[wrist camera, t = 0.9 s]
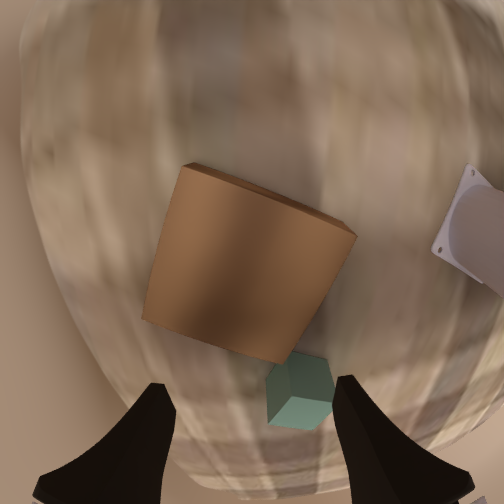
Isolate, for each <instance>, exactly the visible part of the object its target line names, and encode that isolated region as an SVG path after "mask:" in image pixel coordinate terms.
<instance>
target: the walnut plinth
mask: <svg viewBox="0 0 504 504" xmlns="http://www.w3.org/2000/svg"><path fill="white" fill-rule="evenodd" d="M357 237H358V236H357V235H356V234H355V233H354V232H353V231H352V230H351V229H349V228H348V227H347V226H346V225H345V224H344V223H343V222H342V221H340V220H337V219H335V218H333V217H331V216H329V215H326V214H324V213H322V212H319V211H317V210H315V209H313V208H310V207H308V206H306V205H303V204H301V203H299V202H296V201H294V200H292V199H289V198H287V197H284V196H282V195H279V194H277V193H274V192H272V191H269V190H267V189H264V188H262V187H259V186H257V185H254V184H252V183H249V182H246V181H244V180H241V179H239V178H236V177H233V176H231V175H228V174H225V173H222V172H220V171H217V170H214V169H211V168H208V167H206V166H203V165H200V164H197V163H191V164H187V165H184V166H182V167H181V170H180V173H179V176H178V179H177V182H176V185H175V188H174V191H173V195H172V198H171V201H170V204H169V208H168V211H167V214H166V218H165V221H164V225H163V228H162V232H161V236H160V239H159V243H158V247H157V251H156V255H155V259H154V263H153V267H152V271H151V276H150V280H149V284H148V289H147V294H146V298H145V303H144V308H143V313H142V318H141V319H143V320H145V321H148V322H150V323H153V324H155V325H158V326H161V327H163V328H166V329H169V330H171V331H174V332H177V333H179V334H182V335H185V336H188V337H191V338H194V339H197V340H200V341H202V342H205V343H209V344H212V345H215V346H218V347H221V348H224V349H227V350H231V351H234V352H237V353H241V354H244V355H248V356H251V357H255V358H259V359H262V360H266V361H270V362H274V363H278V364H282V365H283V364H284V362H285V361H286V359H287V358H288V356H289V355H290V353H291V352H292V350H293V348H294V347H295V345H296V344H297V342H298V341H299V339H300V338H301V336H302V334H303V333H304V331H305V330H306V328H307V326H308V325H309V323H310V321H311V320H312V318H313V316H314V315H315V313H316V311H317V310H318V308H319V306H320V305H321V303H322V301H323V300H324V298H325V296H326V294H327V293H328V291H329V289H330V287H331V286H332V284H333V282H334V280H335V278H336V277H337V275H338V273H339V271H340V269H341V267H342V266H343V264H344V262H345V260H346V258H347V256H348V254H349V252H350V250H351V248H352V247H353V245H354V243H355V241H356V239H357Z"/></svg>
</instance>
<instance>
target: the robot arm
mask: <svg viewBox="0 0 504 504" xmlns="http://www.w3.org/2000/svg"><path fill="white" fill-rule="evenodd" d="M472 170H473V171H474V174H473V176H472V175H471V171H472ZM440 247H441V251H440V252H439V253H438V249H439V248H440ZM431 252H432V253H434V254H435V255H437V256H439V257H440V258H442V259H444V260H445V261H447V262H448V263H450V264H452V265H453V266H455V267H457V268H458V269H460V270H461V271H463V272H464V273H466V274H467V275H469V276H471V277H472V278H474V279H475V280H477V281H478V282H480V283H481V284H483V283H485V284H486V285H487V286H489V287H490V288H491V289H492V290H493V291H495V292H496V293H497V294H498V295H499V296H501V297H502V298H503V299H504V192H503V191H500V190H497V189H494V188H493V186H492V185H491V184H490V183H489V182H488V181H487V180H486V179H485V178H484V177H483V176H482V175H481V174H480V173H479V172H478V171H477V170H476V169H475V168H474V167H473V166H472V165H471V164H469V163H467V164H466V165H465V168H464V171H463V173H462V176H461V179H460V182H459V184H458V187H457V190H456V192H455V195H454V197H453V199H452V202H451V204H450V207H449V209H448V211H447V214H446V216H445V218H444V220H443V223H442V225H441V227H440V229H439V231H438V233H437V235H436V237H435V239H434V241H433V243H432V245H431ZM332 409H333V416H334V422H335V427H336V430H337V434H338V437H339V441H340V444H341V447H342V451H343V454H344V458H345V461H346V465H347V469H348V474H349V481H350V488H351V496H352V504H459V502H458V500H459V499H461V498H462V497H464V496H465V495H467V494H468V493H470V492H471V491H473V490H474V488H475V485H474V483H473V480H472V477H471V476H470V474H469V472H467V471H465V470H462V469H460V468H457V467H455V466H453V465H451V464H449V463H447V462H445V461H443V460H441V459H439V458H438V457H436V456H434V455H433V454H431V453H430V452H428V451H427V450H425V449H423V448H422V447H421V446H419V445H418V444H417V443H415V442H414V441H413V440H411V439H410V438H409V437H408V436H407V435H405V434H404V433H403V432H402V431H401V430H400V429H399V428H398V427H397V426H396V425H395V424H393V423H392V422H391V421H390V420H389V418H388V417H387V416H386V415H385V414H384V413H383V412H382V411H381V410H380V409H379V407H378V406H377V405H376V404H375V403H374V402H373V400H372V399H371V398H370V397H369V396H368V394H367V393H366V392H365V390H364V389H363V388H362V387H361V385H360V384H359V383H358V381H357V380H356V378H355V377H354V376H353V375H346V376H340V377H338V379H337V384H336V388H335V393H334V398H333V402H332ZM175 419H176V409H175V407H174V405H173V403H172V401H171V398H170V396H169V394H168V392H167V390H166V387H165V385H164V384H160V383H150V384H149V386H148V387H147V388H146V389H145V391H144V392H143V393H142V394H141V396H140V397H139V398H138V400H137V401H136V402H135V403H134V404H133V406H132V407H131V408H130V409H129V411H128V412H127V413H126V414H125V415H124V416H123V417H122V419H121V420H120V421H119V422H118V423H117V424H116V425H115V426H114V427H113V428H112V429H111V430H110V431H109V432H108V433H107V434H106V435H105V436H104V437H103V438H102V439H101V440H100V441H99V442H98V443H96V444H95V445H94V446H93V447H91V448H90V449H89V450H87V451H86V452H85V453H84V454H82V455H81V456H79V457H78V458H76V459H74V460H73V461H71V462H69V463H68V464H66V465H64V466H62V467H60V468H59V469H56V470H54V471H52V472H49V473H47V474H44V475H42V476H40V477H39V480H38V482H37V485H36V487H35V489H34V492H33V497H34V498H36V499H37V500H39V501H40V502H42V503H44V504H160V499H161V498H160V497H161V486H162V478H163V472H164V467H165V464H166V460H167V456H168V452H169V448H170V444H171V441H172V437H173V433H174V427H175ZM32 504H37V503H35V502H32ZM471 504H487V502H486V499H485V497H484V496H482V497H480V498H479V499H477V500H476V501H474V502H472V503H471Z"/></svg>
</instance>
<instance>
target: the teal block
mask: <svg viewBox="0 0 504 504" xmlns="http://www.w3.org/2000/svg"><path fill="white" fill-rule="evenodd" d="M334 393H335V385H334V382H333V378H332V375H331V372H330V368H329V365H328V362H327V360H326V359H322V358H317V357H313V356H309V355H305V354H301V353H297V352H293V351H292V352H291V353H290V355H289V356H288V358H287V359H286V361H285V362H284V364H283V365H282V364H278V363H277V364H276V365H275V367H274V368H273V370H272V371H271V373H270V374H269V376H268V377H267V379H266V394H267V416H268V424H270V425H276V426H282V427H289V428H297V429H306V430H313V429H314V428H315V427H316V426H317V425H319V424H320V423H321V422H322V421H323V420H324V419H325V418H326V417H327V416H328V415H329V414H330V413H331V412H332V411H333V409H332V402H333V398H334Z"/></svg>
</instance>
